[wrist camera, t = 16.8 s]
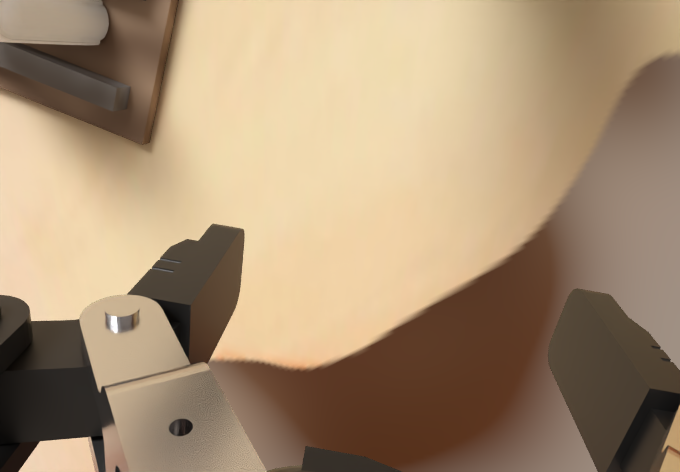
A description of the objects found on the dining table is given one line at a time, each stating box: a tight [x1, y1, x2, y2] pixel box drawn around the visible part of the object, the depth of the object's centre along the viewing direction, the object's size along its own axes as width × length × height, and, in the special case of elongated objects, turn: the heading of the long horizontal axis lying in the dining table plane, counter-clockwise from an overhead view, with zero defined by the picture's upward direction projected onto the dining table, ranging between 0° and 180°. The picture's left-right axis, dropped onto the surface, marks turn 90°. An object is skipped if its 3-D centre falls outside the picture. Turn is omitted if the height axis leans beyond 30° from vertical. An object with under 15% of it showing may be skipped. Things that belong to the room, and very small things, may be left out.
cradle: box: [0, 0, 178, 145], centre depth 42 cm, size 16×20×3 cm
